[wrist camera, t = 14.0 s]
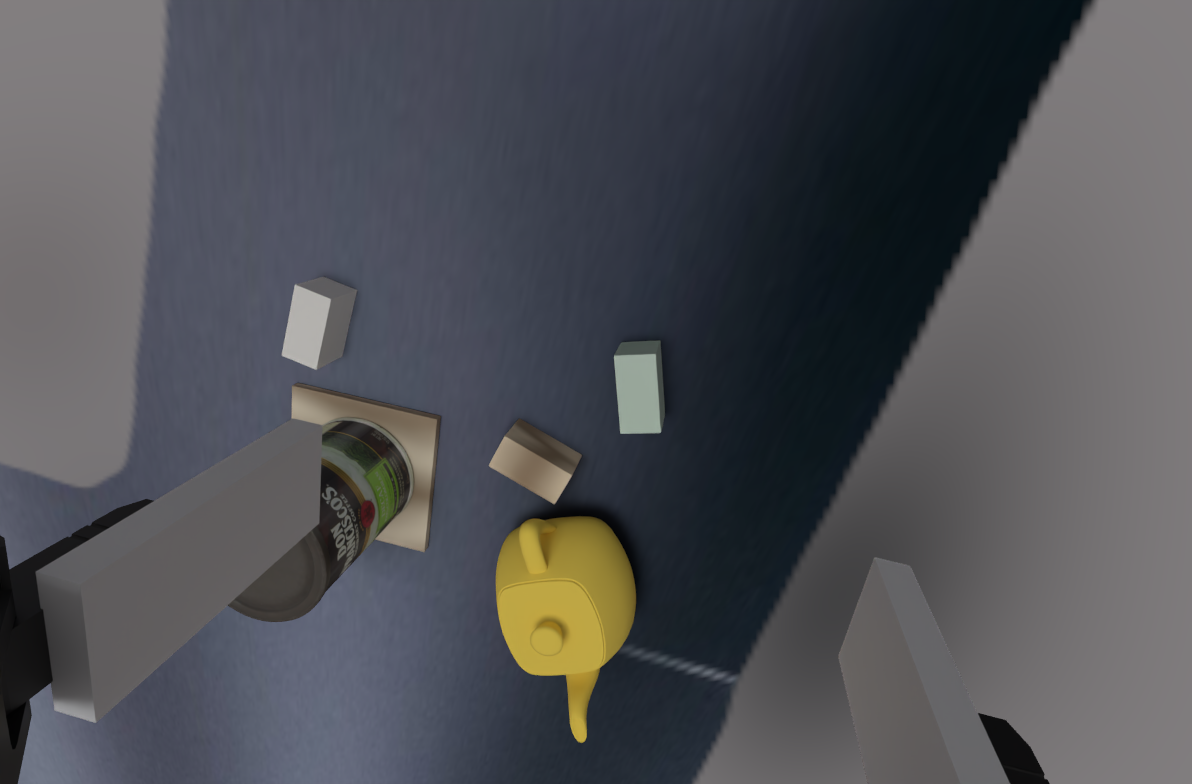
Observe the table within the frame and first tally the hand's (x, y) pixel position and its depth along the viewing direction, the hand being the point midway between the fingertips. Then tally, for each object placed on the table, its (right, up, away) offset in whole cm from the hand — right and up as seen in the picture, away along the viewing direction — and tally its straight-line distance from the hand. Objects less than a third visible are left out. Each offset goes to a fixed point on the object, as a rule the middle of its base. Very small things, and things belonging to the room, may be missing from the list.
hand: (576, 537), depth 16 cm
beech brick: (-4, -1, +41) cm, 41 cm away
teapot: (-1, -12, +44) cm, 46 cm away
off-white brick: (-21, +10, +40) cm, 47 cm away
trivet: (-20, -3, +44) cm, 49 cm away
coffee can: (-20, -3, +44) cm, 48 cm away
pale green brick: (+4, +4, +37) cm, 38 cm away
